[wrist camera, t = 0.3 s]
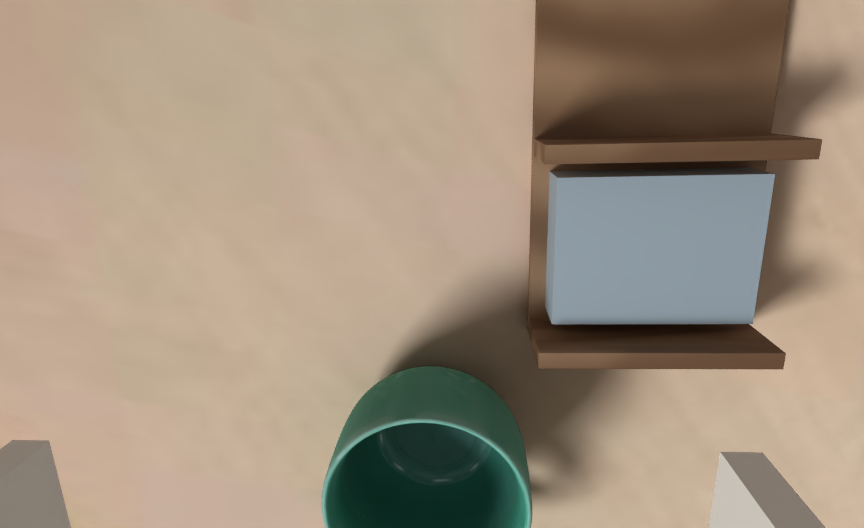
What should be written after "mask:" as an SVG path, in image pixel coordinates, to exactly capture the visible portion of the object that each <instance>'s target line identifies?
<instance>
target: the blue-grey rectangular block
mask: <svg viewBox="0 0 864 528" xmlns="http://www.w3.org/2000/svg"><path fill="white" fill-rule="evenodd" d="M774 179H775V174H773V173H769V172H765V171H761V170H757V169H753V168H700V169H645V170H590V171H550V178H549V206H548V235H547V264H546V293H545V308H546V311H547V313H548V316H549V318H550V321H551V323H552V324H753V319H754V313H755V306H756V299H757V292H758V286H759V279H760V272H761V266H762V259H763V252H764V246H765V239H766V232H767V226H768V219H769V212H770V206H771V199H772V192H773V185H774Z"/></svg>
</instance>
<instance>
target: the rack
mask: <svg viewBox="0 0 864 528" xmlns="http://www.w3.org/2000/svg"><path fill="white" fill-rule="evenodd" d="M789 3H790V0H536V18H535V57H534V97H533V136H532V175H531V214H530V253H529V292H528V332H529V335H530V339H531V343H532V346H533V350H534V354H535V357H536V361H537V364H538V368H539V369H783V367H784V361H785V355H786V353H785V352H783V351H782V350H781V349H780V348H778V347H777V346H776V345H774V344H773V343H772V342H771V341H769V340H768V339H767V338H766V337H764V336H763V335H762V334H761V333H759V332H758V331H757V330H756V329H754V328H753V327H752V326H750V325H749V324H552V323H551V321H550V318H549V316H548V313H547V311H546V308H545V293H546V264H547V235H548V206H549V178H550V171H590V170H645V169H700V168H753V169H757V170H761V171H765V169H766V162H767V160H803V159H819V156H820V150H821V144H822V139H814V138H805V137H796V136H788V135H779V134H771V128H772V121H773V114H774V107H775V100H776V93H777V86H778V79H779V72H780V65H781V58H782V51H783V44H784V37H785V31H786V24H787V17H788V10H789Z"/></svg>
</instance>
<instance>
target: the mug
mask: <svg viewBox="0 0 864 528" xmlns="http://www.w3.org/2000/svg"><path fill="white" fill-rule="evenodd" d="M322 514H323V520H324V524H325V528H531V522H532V498H531V487H530V480H529V472H528V465H527V459H526V454H525V449H524V444H523V440H522V436H521V433H520V430H519V427H518V425H517V422H516V420H515V418H514V416H513V414H512V413H511V411H510V409H509V408H508V406H507V405H506V404H505V402H504V401H503V400H502V399H501V398H500V396H499V395H498V394H497V393H496V392H495V391H494V390H492V389H491V388H490V387H489V386H488V385H486V384H485V383H483V382H482V381H480V380H479V379H477V378H475V377H473V376H471V375H469V374H467V373H464V372H462V371H459V370H455V369H451V368H446V367H438V366H423V367H415V368H410V369H406V370H402V371H399V372H397V373H394V374H392V375H390V376H388V377H386V378H384V379H383V380H381V381H380V382H378V383H377V384H376V385H374V386H373V387H372V388H371V389H370V390H368V391H367V392H366V393H365V394H364V395H363V397H362V398H361V399H360V400H359V401H358V403H357V404H356V406H355V407H354V409H353V410H352V412H351V414H350V415H349V417H348V419H347V421H346V423H345V426H344V428H343V430H342V433H341V435H340V437H339V440H338V442H337V445H336V448H335V450H334V453H333V456H332V459H331V462H330V464H329V468H328V471H327V474H326V478H325V481H324V486H323V491H322Z"/></svg>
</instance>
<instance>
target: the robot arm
mask: <svg viewBox="0 0 864 528" xmlns="http://www.w3.org/2000/svg"><path fill="white" fill-rule="evenodd" d="M0 528H71V526H70V522H69V518H68V514H67V510H66V506H65V502H64V498H63V494H62V490H61V486H60V482H59V478H58V474H57V470H56V466H55V462H54V458H53V454H52V450H51V447H50V443H49V441H38V440H12V441H11V442H10V443H8V444H7V445H6V446H4V447H3V448H2V449H0ZM709 528H825V526H824V525H823V524H822V523H821V522H820V521H819V519H818V518H817V517H816V516H815V515H814V513H813V512H812V511H811V510H810V509H809V507H808V506H807V505H806V504H805V503H804V501H803V500H802V499H801V498H800V497H799V495H798V494H797V493H796V492H795V491H794V490H793V488H792V487H791V486H790V485H789V484H788V482H787V481H786V480H785V479H784V478H783V476H782V475H781V474H780V473H779V472H778V470H777V469H776V468H775V467H774V466H773V464H772V463H771V462H770V461H769V460H768V459H767V457H766V456H765V455H764V454H763V453H754V452H720V457H719V464H718V471H717V477H716V484H715V490H714V497H713V504H712V510H711V517H710V524H709Z"/></svg>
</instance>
